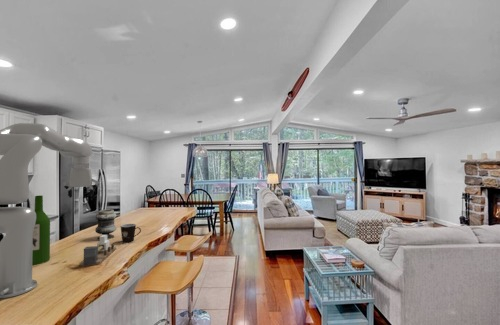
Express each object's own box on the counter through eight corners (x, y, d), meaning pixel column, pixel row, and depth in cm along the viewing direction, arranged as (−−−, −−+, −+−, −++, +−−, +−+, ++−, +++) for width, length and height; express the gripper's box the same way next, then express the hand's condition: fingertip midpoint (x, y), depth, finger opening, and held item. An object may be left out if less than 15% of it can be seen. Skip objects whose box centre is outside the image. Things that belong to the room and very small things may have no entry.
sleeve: (106, 251, 131) (106, 236, 131) (97, 251, 130) (97, 237, 130) (109, 247, 136) (109, 234, 136) (100, 248, 135) (101, 234, 135)
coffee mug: (117, 242, 152) (117, 226, 152) (129, 238, 160) (129, 223, 160) (129, 245, 147) (129, 228, 147) (141, 241, 154) (142, 225, 154)
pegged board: (99, 264, 118) (99, 247, 118) (78, 265, 116) (79, 249, 116) (116, 248, 140) (116, 234, 140) (99, 249, 138) (99, 235, 138)
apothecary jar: (107, 240, 155) (107, 212, 155) (90, 239, 157) (90, 211, 157) (120, 235, 167) (120, 208, 167) (104, 234, 169) (104, 208, 169)
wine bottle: (21, 266, 116) (22, 197, 116) (32, 259, 124) (33, 195, 125) (43, 264, 118) (44, 196, 118) (53, 257, 127) (54, 194, 127)
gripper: (60, 166, 132) (60, 198, 132) (97, 166, 139) (97, 196, 139) (64, 166, 139) (64, 196, 139) (99, 166, 146) (99, 195, 146)
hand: (81, 196), depth 139 cm, fingers open, 9 cm apart
